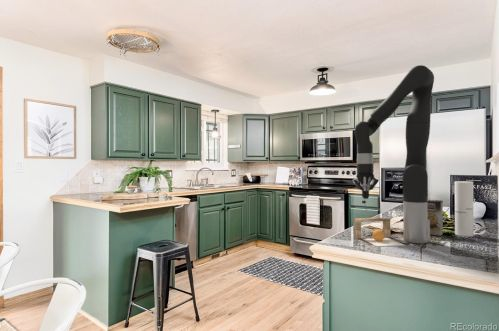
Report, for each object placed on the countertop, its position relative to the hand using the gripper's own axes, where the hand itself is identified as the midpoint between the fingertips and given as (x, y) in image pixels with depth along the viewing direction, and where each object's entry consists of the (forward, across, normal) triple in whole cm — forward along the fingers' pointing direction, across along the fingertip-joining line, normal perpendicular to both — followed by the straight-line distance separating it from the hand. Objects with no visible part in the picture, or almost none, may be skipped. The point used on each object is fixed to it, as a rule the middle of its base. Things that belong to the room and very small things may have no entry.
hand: (365, 198), depth 146 cm
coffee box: (+17, -31, +4) cm, 36 cm away
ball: (+14, +2, +15) cm, 21 cm away
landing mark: (+17, +1, +17) cm, 24 cm away
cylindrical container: (+17, -44, +9) cm, 48 cm away
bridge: (+17, +1, +8) cm, 19 cm away
